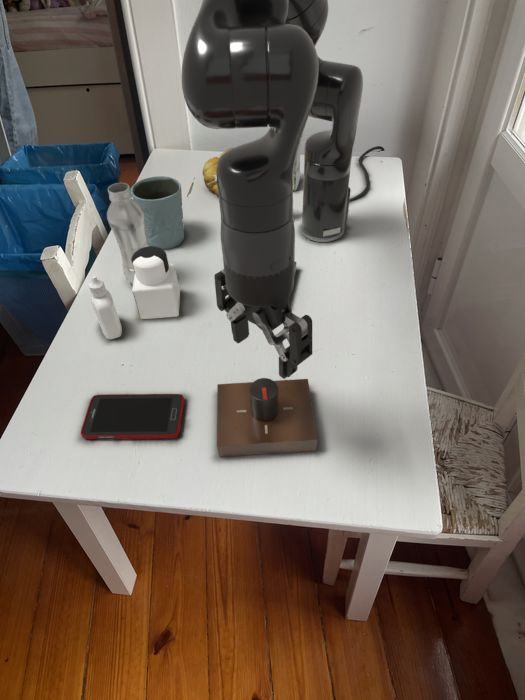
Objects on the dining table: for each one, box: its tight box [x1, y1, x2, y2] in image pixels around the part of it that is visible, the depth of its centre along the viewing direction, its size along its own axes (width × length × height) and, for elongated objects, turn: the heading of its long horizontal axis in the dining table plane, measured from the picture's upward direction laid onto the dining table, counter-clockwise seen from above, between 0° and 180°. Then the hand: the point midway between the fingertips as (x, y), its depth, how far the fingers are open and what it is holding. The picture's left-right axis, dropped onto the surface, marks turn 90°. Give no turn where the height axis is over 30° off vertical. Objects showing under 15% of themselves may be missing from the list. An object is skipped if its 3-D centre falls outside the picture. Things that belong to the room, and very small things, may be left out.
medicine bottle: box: [131, 246, 181, 320], centre depth 87 cm, size 7×7×12 cm
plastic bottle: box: [106, 182, 149, 285], centre depth 90 cm, size 6×7×20 cm
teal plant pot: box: [130, 175, 185, 250], centre depth 103 cm, size 10×10×12 cm
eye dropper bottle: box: [88, 275, 123, 340], centre depth 83 cm, size 4×6×12 cm
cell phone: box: [80, 393, 185, 440], centre depth 74 cm, size 8×15×1 cm, turn 89°
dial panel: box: [216, 378, 318, 458], centre depth 72 cm, size 14×11×3 cm
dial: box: [250, 377, 278, 421], centre depth 69 cm, size 4×4×5 cm
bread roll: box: [202, 147, 233, 196], centre depth 119 cm, size 13×10×8 cm
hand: (263, 355), depth 62 cm, fingers open, 8 cm apart
